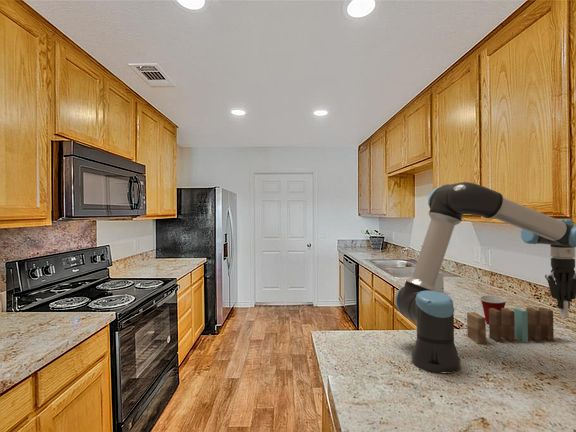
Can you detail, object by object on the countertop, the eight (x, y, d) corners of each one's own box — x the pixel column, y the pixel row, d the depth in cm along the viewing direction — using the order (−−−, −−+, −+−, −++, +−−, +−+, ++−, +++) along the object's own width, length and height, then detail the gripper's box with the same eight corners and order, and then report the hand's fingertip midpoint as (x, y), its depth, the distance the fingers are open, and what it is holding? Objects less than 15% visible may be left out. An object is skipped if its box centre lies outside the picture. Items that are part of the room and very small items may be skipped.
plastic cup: (477, 325, 153) (477, 298, 153) (481, 318, 161) (481, 293, 161) (506, 329, 146) (505, 301, 146) (508, 323, 155) (508, 296, 155)
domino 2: (509, 342, 132) (509, 311, 132) (501, 337, 137) (501, 308, 137) (514, 342, 132) (514, 311, 132) (506, 337, 137) (506, 307, 137)
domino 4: (535, 341, 132) (534, 311, 132) (526, 337, 137) (526, 307, 137) (540, 341, 132) (540, 311, 132) (531, 337, 137) (531, 307, 137)
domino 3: (519, 337, 137) (518, 307, 137) (527, 341, 132) (527, 311, 132) (514, 337, 137) (513, 307, 137) (522, 341, 132) (522, 311, 132)
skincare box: (435, 297, 203) (434, 273, 203) (426, 295, 209) (426, 271, 209) (444, 296, 207) (444, 271, 207) (436, 294, 213) (435, 270, 213)
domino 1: (496, 342, 132) (496, 311, 132) (489, 337, 137) (488, 308, 137) (501, 342, 132) (501, 311, 132) (494, 337, 137) (493, 308, 137)
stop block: (478, 343, 131) (477, 318, 131) (467, 336, 139) (467, 312, 139) (485, 343, 131) (485, 318, 131) (474, 336, 139) (474, 312, 139)
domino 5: (548, 341, 132) (547, 311, 132) (539, 337, 137) (538, 307, 137) (553, 341, 132) (553, 310, 132) (544, 337, 137) (543, 307, 137)
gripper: (553, 259, 131) (554, 320, 131) (587, 258, 130) (588, 319, 130) (539, 256, 138) (540, 314, 138) (571, 256, 138) (572, 313, 138)
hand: (564, 316), depth 134 cm, fingers closed
